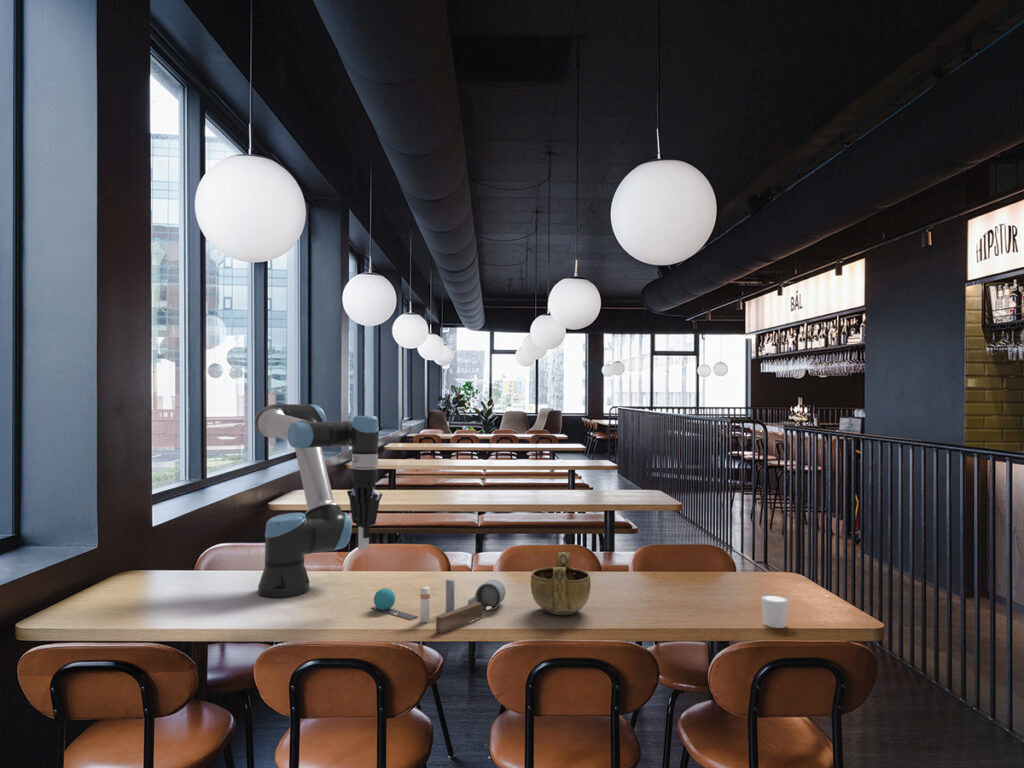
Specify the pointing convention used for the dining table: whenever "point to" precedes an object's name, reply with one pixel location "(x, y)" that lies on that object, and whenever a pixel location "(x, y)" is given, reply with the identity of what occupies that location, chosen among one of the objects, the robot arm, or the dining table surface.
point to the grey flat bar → (398, 613)
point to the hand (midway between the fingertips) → (363, 548)
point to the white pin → (424, 604)
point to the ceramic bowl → (560, 587)
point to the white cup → (774, 610)
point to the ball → (384, 599)
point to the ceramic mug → (489, 594)
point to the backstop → (458, 617)
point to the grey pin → (450, 594)
